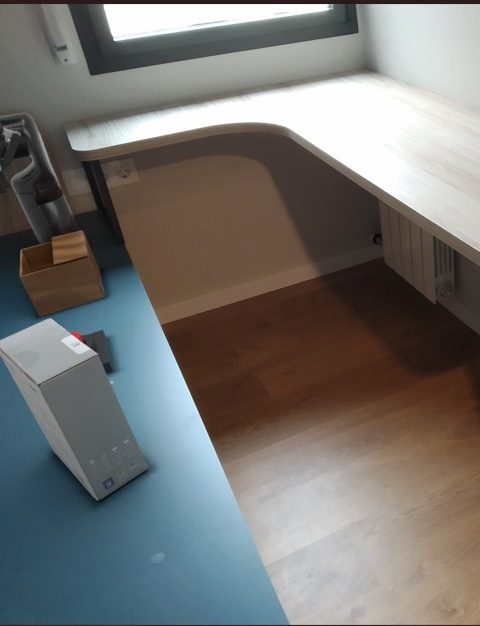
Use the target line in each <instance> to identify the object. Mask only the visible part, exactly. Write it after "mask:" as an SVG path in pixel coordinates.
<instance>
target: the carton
mask: <svg viewBox="0 0 480 626" xmlns="http://www.w3.org/2000/svg"><path fill="white" fill-rule="evenodd" d="M83 233H84V238H85V243H86V248H87V253H88V256H86V257H82V258H78V259H74V260H70V261H67V262H63V263H59V264H55V265H54V260H53V247H52V242H48V243H44V244H40V245H39V244H37V245H32V246H30V247H25V248H22V249H20V250H19V252H20V254H19V256H20V257H19V279H20V281H21V283H22V285H23V287H24V289H25V292H26V293H27V296H28V297H29V299H30V301H31V303H32V305H33V306H34V309H35V311H36V313H37V315H38V317H39V318H41V317H46V316H48V315H51V314H56V313H58V312H62V311H66V310H68V309H73V308H75V307H79V306H82V305H85V304H88V303H92V302H95V301H98V300H102V299H105V298H107V296H106V291H105V288H104V282H103V278H102V274H101V269H100V267H99V264H98V262H97V260H96V257H95V254H94V252H93V251H92V248H91V245H90V243H89V240H88V238H87V235H86V234H85V232H83Z"/></svg>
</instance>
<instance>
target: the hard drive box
mask: <svg viewBox="0 0 480 626" xmlns="http://www.w3.org/2000/svg"><path fill="white" fill-rule="evenodd" d="M70 333H71V332H69V331H68V330H66V329H65V328H64V327H63V326H61V325H60V324H59V323H57V322H56V321H55V320H53V319H52V318H47V319H43V320H42V321H40V322H38V323H36V324H33V325H31V326H29V327H26V328H24V329H22V330H19V331H17V332H15V333H13V334H11V335H9V336H6V337H4V338H2V339H0V357H1V359H2V361H3V363H4V365H5V366H6V368H7V370H8V371H9V374H10V375H11V377H12V378H13V381H14V382H15V384H16V386H17V388H18V390H19V391H20V393H21V395H22V397H23V399H24V401H25V402H26V404H27V406H28V408H29V410H30V411H31V413H32V415H33V417H34V418H35V421H36V422H37V424H38V426H39V428H40V429H41V432H42V433H43V435H44V437H45V439H46V440H47V442H48V444H49V446H50V447H51V449H52V451H53V452H54V454H55V455H56V456H57V457H58V458H59V459H60V460H61V462H62V463H64V465H65V466H66V467H67V468H68V469H69V470H70V472H71V473H72V474H73V476H74V477H76V479H77V480H78V481H79V482H80V483H81V485H82V486H83V487H84V488H85V489H86V490H87V491H88V493H90V495H91V496H92V497H93V498H94V499H95V501H99V500H103V499H104V498H106V497H107V496H109V495H110V494H112V493H113V492H115V491H117V490H118V489H119V488H121V487H122V486H124V485H126V484H127V483H129V482H130V481H131V480H133V479H135V478H136V477H138V476H139V475H140V474H142V473H143V472H145V471H147V470H148V469H149V466H148V463H147V462H146V459H145V457H144V455H143V452H142V450H141V448H140V446H139V443H138V441H137V439H136V437H135V435H134V431H133V430H132V428H131V426H130V423H129V421H128V419H127V417H126V415H125V412H124V410H123V408H122V406H121V403H120V401H119V399H118V397H117V395H116V393H115V390H114V388H113V386H112V384H111V383H112V382H111V381H110V379H109V377H108V374H106V372H105V370H104V368H103V365H102V363H101V361H100V359H99V356H98V354H97V353H96V352H94V351H93V350H92V349H91V348H89V347H88V346H87V345H85V344H84V343H83V342H81V341H80V340H79V339H77V338H76V337H75V336H73V335H72V334H70Z"/></svg>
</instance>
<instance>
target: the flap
mask: <svg viewBox="0 0 480 626" xmlns="http://www.w3.org/2000/svg"><path fill="white" fill-rule="evenodd" d="M84 233H85V232H84V230H79V231H77V232H73V233H69V234H65V235H61V236H57V237H52V247H53V260H54V265H55V264H59V263H63V262H67V261H70V260H74V259H78V258H82V257H86V256H88V253H87V248H86V243H85V238H84Z"/></svg>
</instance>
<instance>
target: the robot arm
mask: <svg viewBox="0 0 480 626" xmlns="http://www.w3.org/2000/svg"><path fill="white" fill-rule="evenodd" d="M25 158H31V159H32V161H31V163H30V164H29V165H28V166H27V167H26V168H24V169H23V170H21V171H20V172H18V173H16V174H15V175H14V176H13V177H11V178H10V180H9V178H8V176H7V174H6V171H5V168H7V167H9V166H11V165H12V162H13V161H15V160H16V161H17V160H20V159H25ZM11 187H12V189H13V191H14V194H15V195H16V198H17V199H18V202H19V204H20V206H21V208H22V210H23V213H24V215H25V217H26V219H27V221H28V223H29V226H30V227H31V231H32V232H33V234H34V237H35V239H36V240H37V243H38V245H40V244H44V243H48V242H52V237H57V236H61V235H65V234H69V233H73V232H77V231H80V229H79V225H78V224H77V221H76V220H75V217H74V215H73V211H72V210H71V207H70V204H69V202H68V200H67V198H66V196H65V193H64V191H63V189H62V186H61V183H60V181H59V178H58V177H57V173H56V172H55V169H54V167H53V164H52V162H51V160H50V157H49V155H48V152H47V149H46V146H45V143H44V141H43V138H42V135H41V133H40V130H39V127H38V125H37V124H36V121H35V119H34V118H33V117H32V116H31V115H30V114H29V113H27V112H17V113H11V114H6V115H0V195H1V194H4V193H5V194H6V193H8V192H9V189H11Z"/></svg>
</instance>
